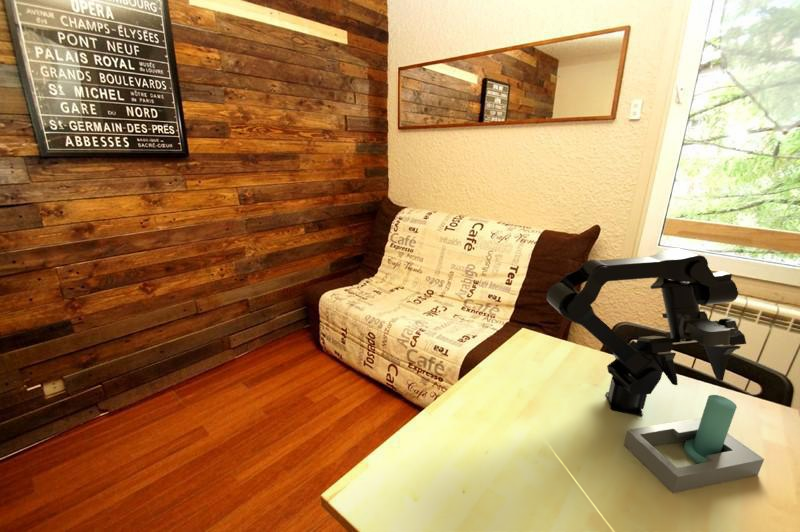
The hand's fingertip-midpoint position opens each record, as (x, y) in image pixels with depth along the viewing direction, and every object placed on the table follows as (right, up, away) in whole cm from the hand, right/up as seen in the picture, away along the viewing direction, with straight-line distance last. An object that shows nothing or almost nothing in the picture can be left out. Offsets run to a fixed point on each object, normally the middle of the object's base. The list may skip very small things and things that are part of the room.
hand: (697, 382), depth 73 cm
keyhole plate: (-6, -14, -4) cm, 15 cm away
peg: (-2, -13, -4) cm, 14 cm away
